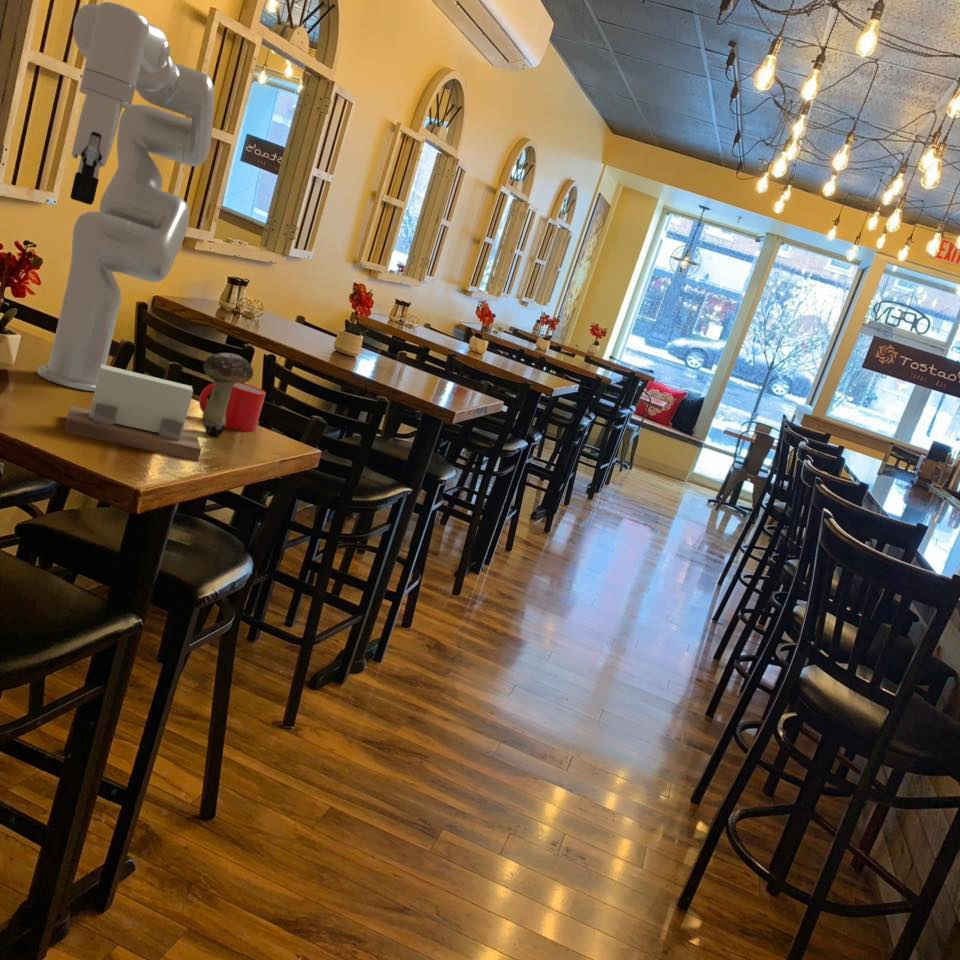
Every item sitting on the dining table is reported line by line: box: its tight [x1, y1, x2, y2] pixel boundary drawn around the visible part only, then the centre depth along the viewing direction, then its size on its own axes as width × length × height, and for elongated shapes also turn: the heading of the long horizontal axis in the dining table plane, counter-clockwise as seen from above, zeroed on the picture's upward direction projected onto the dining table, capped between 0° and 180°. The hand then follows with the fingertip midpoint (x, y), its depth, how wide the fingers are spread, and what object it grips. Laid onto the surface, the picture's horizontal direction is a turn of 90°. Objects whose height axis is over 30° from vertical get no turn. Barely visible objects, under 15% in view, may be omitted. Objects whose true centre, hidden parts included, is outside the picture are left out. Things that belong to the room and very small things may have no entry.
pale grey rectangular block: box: [89, 364, 194, 438], centre depth 149 cm, size 4×14×8 cm, turn 111°
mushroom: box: [202, 352, 254, 436], centre depth 168 cm, size 9×9×15 cm
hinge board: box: [64, 403, 202, 462], centre depth 149 cm, size 10×20×5 cm, turn 111°
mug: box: [198, 382, 266, 433], centre depth 182 cm, size 8×12×8 cm, turn 119°
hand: (82, 200), depth 147 cm, fingers open, 9 cm apart
